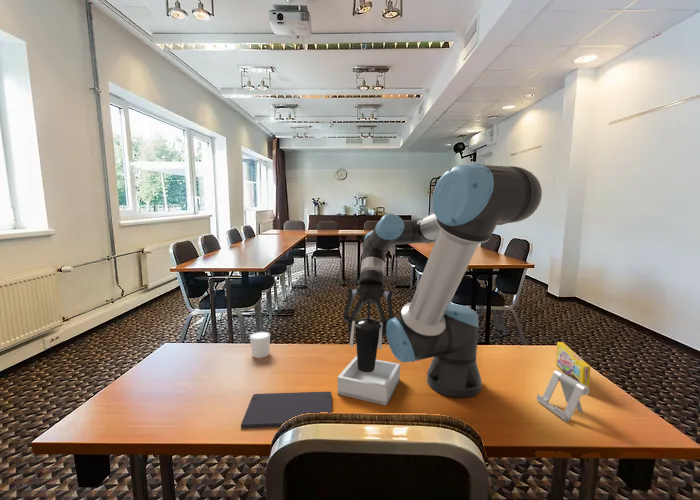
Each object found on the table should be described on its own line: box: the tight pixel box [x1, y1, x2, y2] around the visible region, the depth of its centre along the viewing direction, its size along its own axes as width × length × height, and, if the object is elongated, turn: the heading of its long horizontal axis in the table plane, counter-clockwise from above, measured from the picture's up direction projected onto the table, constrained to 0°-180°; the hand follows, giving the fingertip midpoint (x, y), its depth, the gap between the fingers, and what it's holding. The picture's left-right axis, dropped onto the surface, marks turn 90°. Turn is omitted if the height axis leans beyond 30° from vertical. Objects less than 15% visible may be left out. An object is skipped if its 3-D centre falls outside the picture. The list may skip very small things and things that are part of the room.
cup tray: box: [336, 355, 401, 407], centre depth 96 cm, size 14×14×5 cm
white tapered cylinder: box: [249, 331, 271, 359], centre depth 116 cm, size 7×7×7 cm
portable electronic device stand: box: [536, 369, 590, 423], centre depth 85 cm, size 9×8×8 cm
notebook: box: [240, 391, 333, 430], centre depth 85 cm, size 13×2×21 cm
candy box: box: [555, 341, 591, 395], centre depth 100 cm, size 16×2×8 cm, turn 171°
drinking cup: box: [355, 301, 382, 372], centre depth 95 cm, size 8×8×20 cm
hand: (365, 346), depth 92 cm, fingers closed on drinking cup, 7 cm apart
